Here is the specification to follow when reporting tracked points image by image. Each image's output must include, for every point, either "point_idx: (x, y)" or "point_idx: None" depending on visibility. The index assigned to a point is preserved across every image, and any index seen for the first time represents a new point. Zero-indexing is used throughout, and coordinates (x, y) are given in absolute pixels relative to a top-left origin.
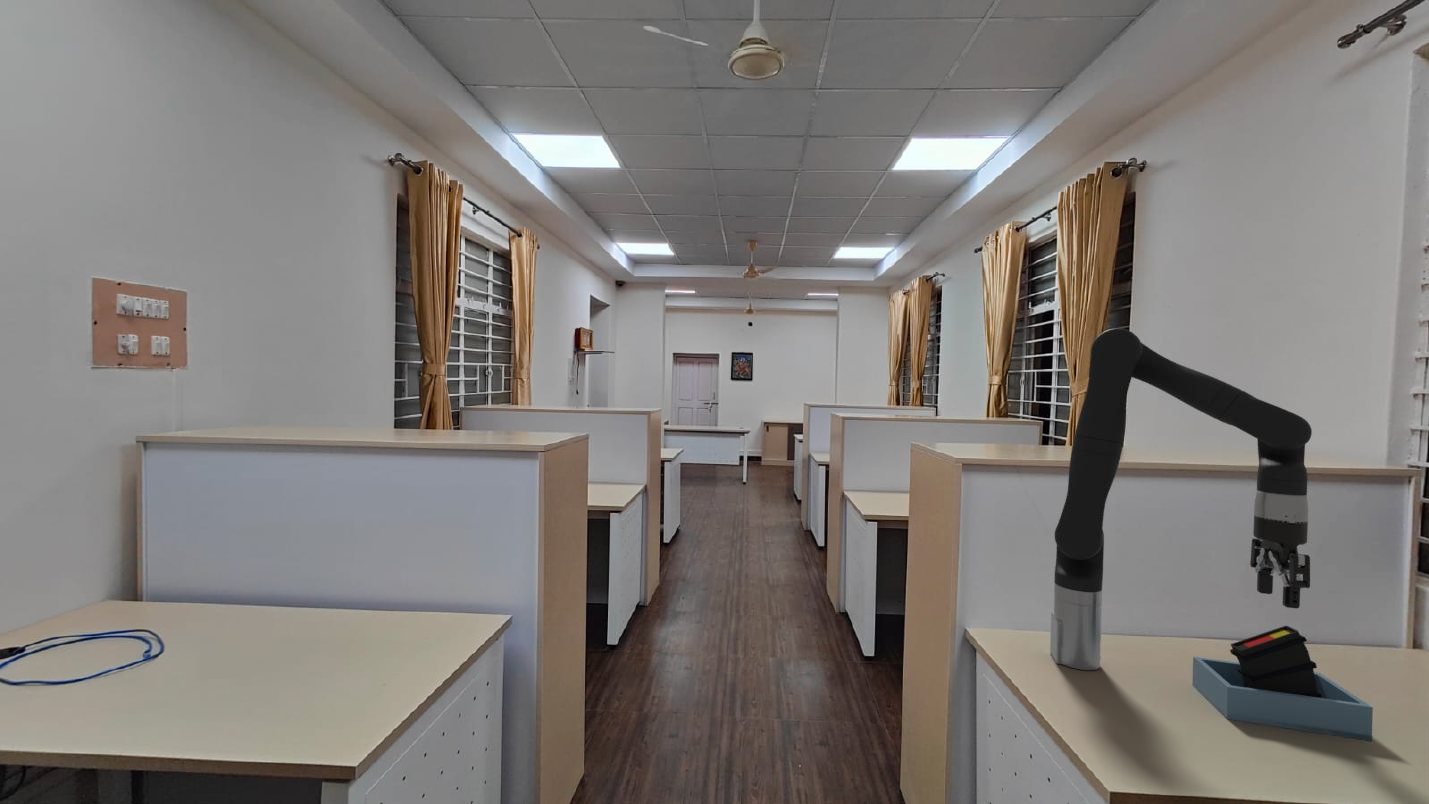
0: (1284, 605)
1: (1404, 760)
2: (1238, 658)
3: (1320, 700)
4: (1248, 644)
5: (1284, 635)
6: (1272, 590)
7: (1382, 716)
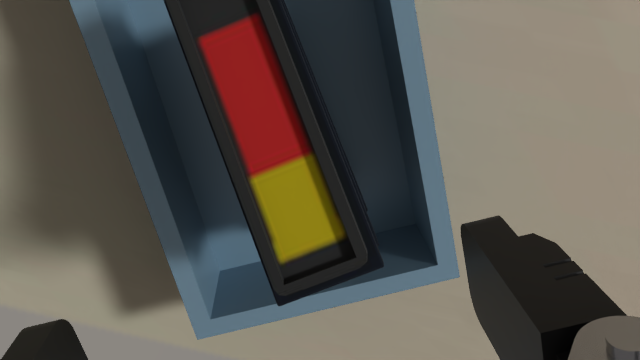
0: (36, 325)
1: (132, 314)
2: None
3: (151, 216)
4: (239, 38)
5: (254, 221)
6: (487, 332)
7: (421, 345)
